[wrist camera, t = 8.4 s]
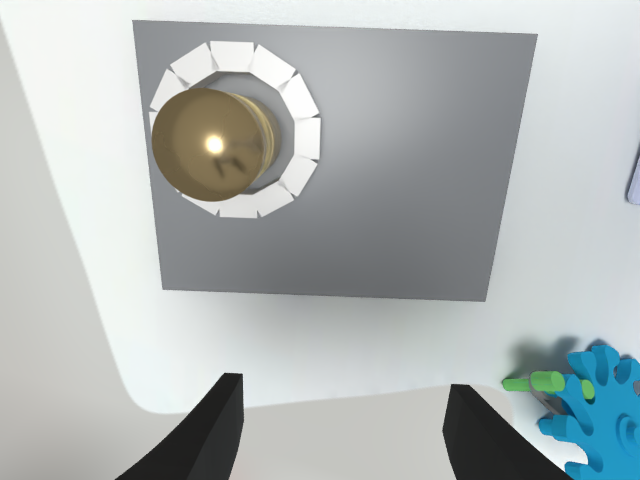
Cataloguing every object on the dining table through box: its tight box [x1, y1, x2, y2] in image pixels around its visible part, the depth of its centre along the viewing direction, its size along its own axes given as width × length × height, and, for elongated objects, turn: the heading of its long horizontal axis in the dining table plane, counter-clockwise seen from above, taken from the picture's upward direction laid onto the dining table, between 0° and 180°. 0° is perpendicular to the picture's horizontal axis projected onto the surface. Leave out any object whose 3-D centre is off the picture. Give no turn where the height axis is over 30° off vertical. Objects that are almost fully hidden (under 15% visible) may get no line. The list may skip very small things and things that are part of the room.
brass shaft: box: [151, 88, 282, 202], centre depth 16 cm, size 4×4×6 cm
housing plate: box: [132, 20, 538, 302], centre depth 19 cm, size 19×14×2 cm
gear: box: [503, 345, 640, 480], centre depth 23 cm, size 11×6×10 cm
